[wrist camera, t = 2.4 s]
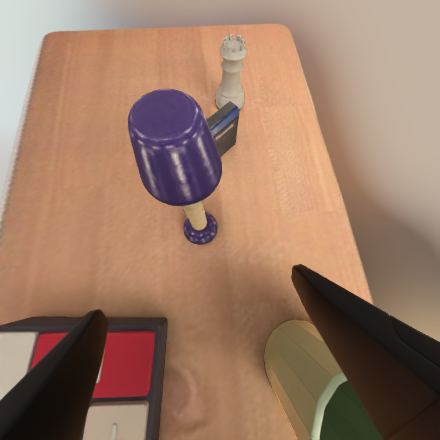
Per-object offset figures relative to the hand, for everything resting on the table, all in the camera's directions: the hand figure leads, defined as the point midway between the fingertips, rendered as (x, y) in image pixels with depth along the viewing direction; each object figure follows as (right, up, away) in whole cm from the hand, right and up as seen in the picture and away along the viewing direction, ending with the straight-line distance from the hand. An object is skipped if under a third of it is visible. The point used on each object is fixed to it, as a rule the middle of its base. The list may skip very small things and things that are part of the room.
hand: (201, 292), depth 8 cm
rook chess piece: (+2, +22, +20) cm, 30 cm away
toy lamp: (-1, +3, +15) cm, 15 cm away
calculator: (-12, -13, +10) cm, 20 cm away
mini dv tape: (0, +12, +17) cm, 21 cm away
